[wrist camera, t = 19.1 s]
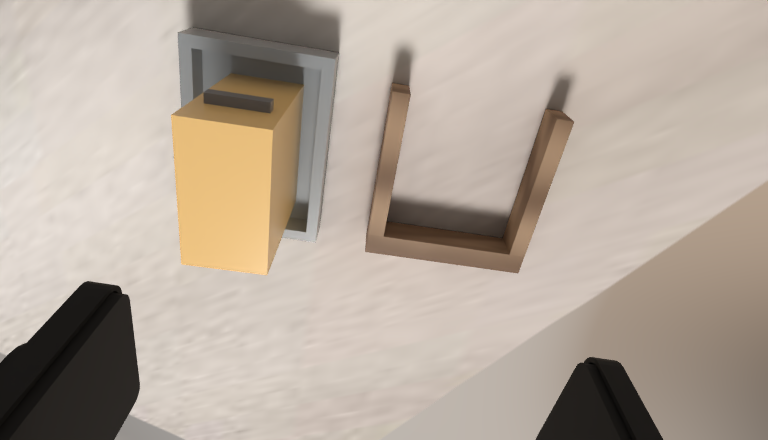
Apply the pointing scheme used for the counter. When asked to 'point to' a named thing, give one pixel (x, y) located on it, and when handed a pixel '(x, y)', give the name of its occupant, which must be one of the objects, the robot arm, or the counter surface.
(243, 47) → the grey tray
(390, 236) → the walnut bay
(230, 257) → the yellow block
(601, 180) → the counter surface
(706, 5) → the counter surface
